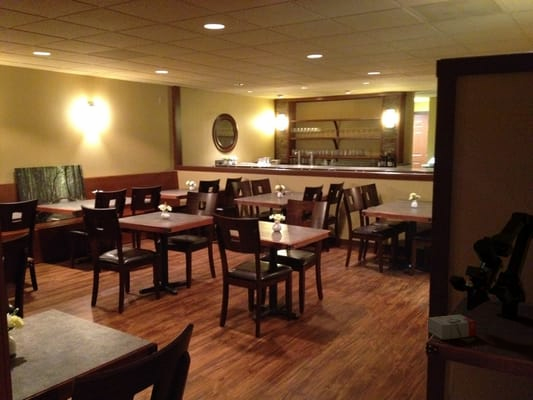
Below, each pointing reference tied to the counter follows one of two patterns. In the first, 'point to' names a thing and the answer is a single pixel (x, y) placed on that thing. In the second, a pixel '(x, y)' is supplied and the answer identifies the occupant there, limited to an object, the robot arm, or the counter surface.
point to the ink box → (451, 326)
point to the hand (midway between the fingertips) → (468, 310)
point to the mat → (467, 339)
